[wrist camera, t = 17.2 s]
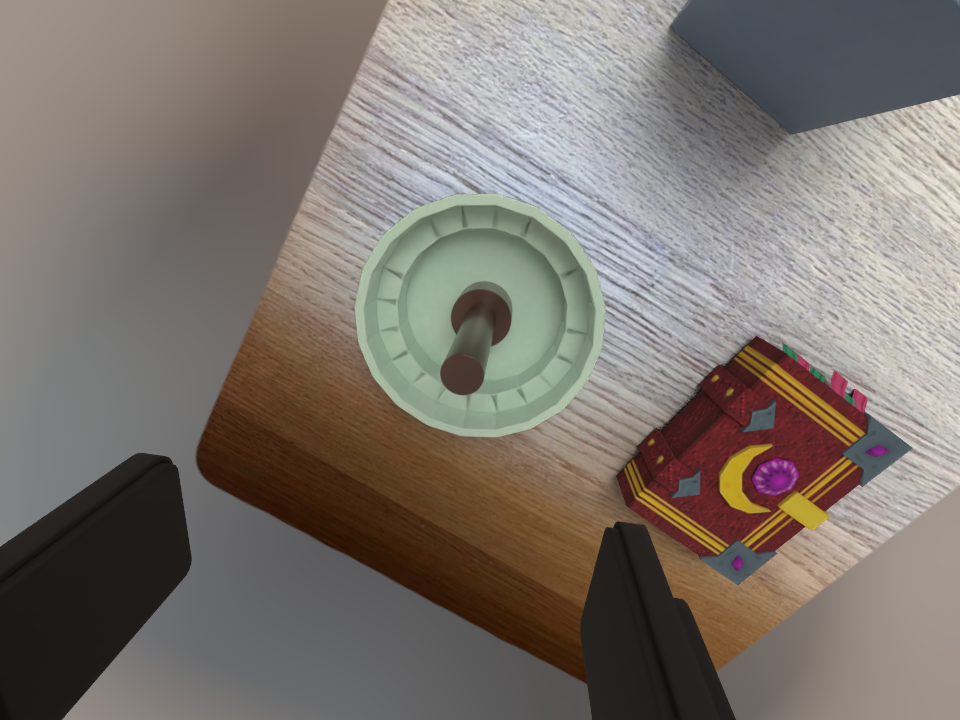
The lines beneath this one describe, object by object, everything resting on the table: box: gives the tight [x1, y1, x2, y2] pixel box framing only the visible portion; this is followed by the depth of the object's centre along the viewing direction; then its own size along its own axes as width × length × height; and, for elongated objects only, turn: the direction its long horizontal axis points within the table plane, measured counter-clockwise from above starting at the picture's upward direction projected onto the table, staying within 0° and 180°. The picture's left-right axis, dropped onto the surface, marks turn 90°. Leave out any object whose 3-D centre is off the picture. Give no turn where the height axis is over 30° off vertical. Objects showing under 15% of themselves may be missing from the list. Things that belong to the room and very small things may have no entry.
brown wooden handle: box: [440, 281, 512, 395], centre depth 26 cm, size 4×4×13 cm
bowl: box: [355, 194, 606, 437], centre depth 30 cm, size 15×15×6 cm
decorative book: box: [617, 336, 912, 585], centre depth 33 cm, size 11×16×5 cm
